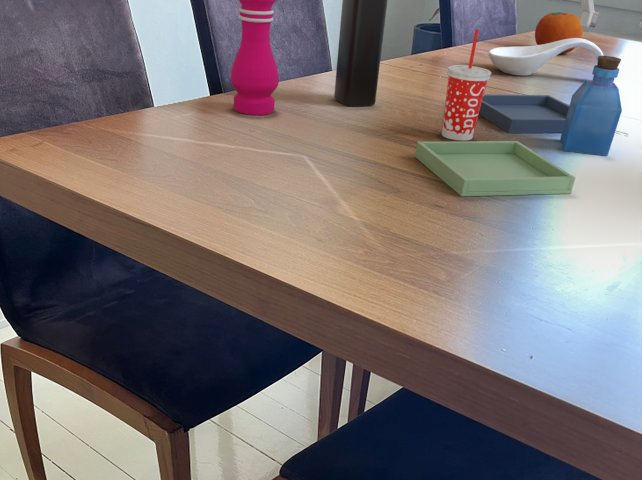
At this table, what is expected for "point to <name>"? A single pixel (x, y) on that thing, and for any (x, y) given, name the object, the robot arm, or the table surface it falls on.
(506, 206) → the table surface
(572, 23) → the fruit
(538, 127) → the slate tray
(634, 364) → the table surface
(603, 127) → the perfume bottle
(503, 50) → the white ladle
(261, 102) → the pepper mill
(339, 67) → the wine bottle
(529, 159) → the sage tray
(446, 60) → the table surface
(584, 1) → the robot arm
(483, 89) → the beverage cup
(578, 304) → the table surface
